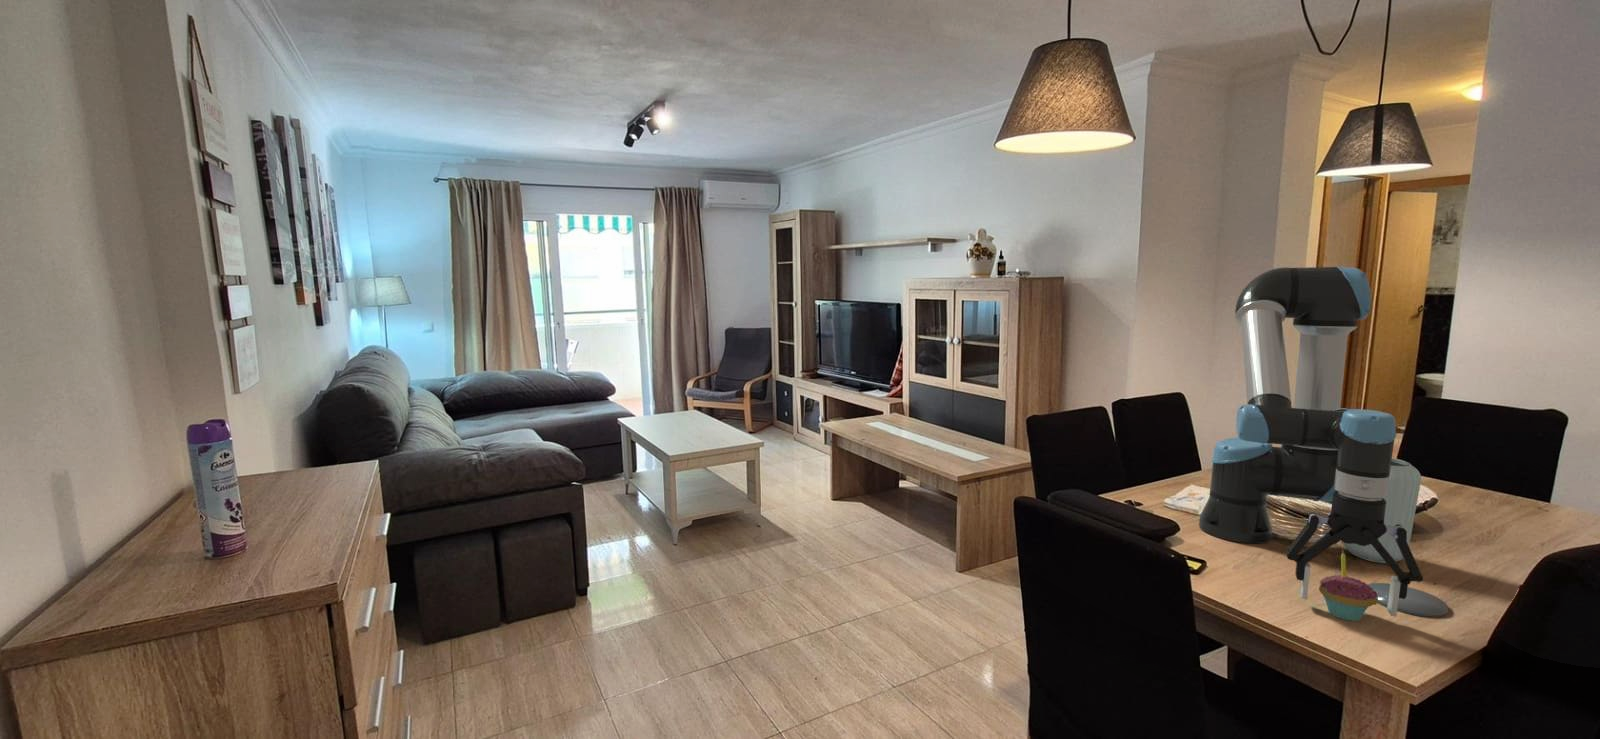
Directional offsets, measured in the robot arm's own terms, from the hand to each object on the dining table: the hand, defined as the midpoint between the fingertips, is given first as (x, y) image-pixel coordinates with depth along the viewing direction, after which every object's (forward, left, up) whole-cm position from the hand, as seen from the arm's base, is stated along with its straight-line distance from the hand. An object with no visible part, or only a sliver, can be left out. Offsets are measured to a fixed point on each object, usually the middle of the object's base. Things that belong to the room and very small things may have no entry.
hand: (1346, 604), depth 125 cm
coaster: (+11, +12, -2) cm, 16 cm away
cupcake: (0, 0, -2) cm, 2 cm away
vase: (+10, +35, -2) cm, 36 cm away
